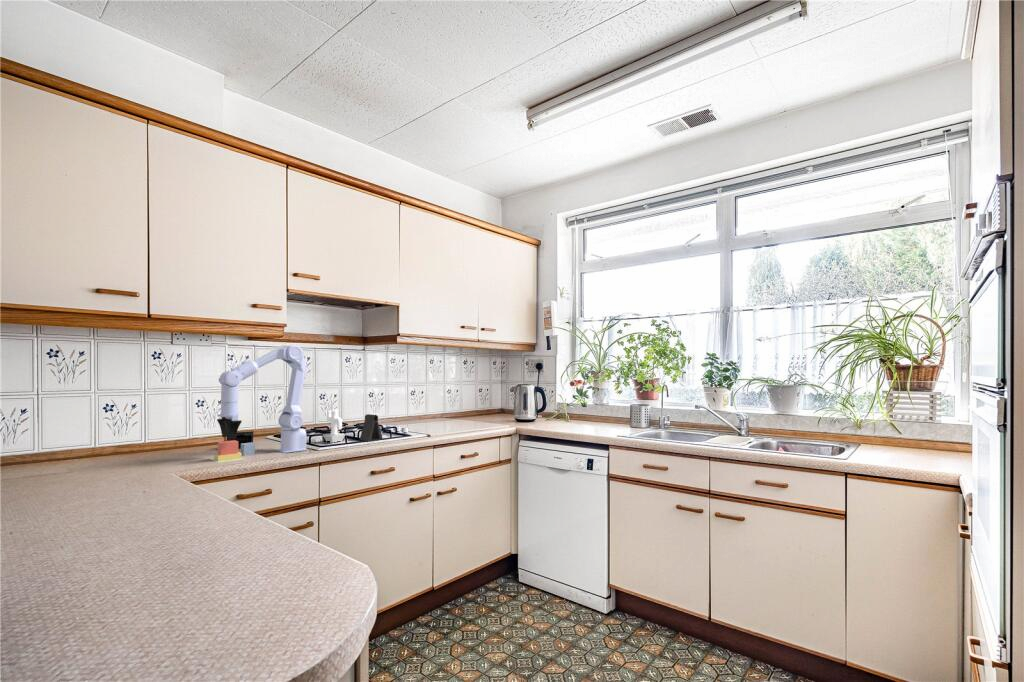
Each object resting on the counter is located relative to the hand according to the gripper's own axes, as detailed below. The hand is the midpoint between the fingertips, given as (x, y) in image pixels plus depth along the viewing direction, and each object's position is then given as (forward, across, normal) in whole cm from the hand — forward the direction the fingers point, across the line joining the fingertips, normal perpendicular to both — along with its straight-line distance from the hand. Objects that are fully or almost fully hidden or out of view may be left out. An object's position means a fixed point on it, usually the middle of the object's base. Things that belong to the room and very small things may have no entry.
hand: (228, 438), depth 193 cm
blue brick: (+8, -5, +8) cm, 13 cm away
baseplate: (+8, 0, 0) cm, 8 cm away
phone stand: (+9, -5, +63) cm, 64 cm away
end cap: (+8, -23, +11) cm, 27 cm away
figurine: (+8, -10, +47) cm, 49 cm away
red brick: (+6, 0, 0) cm, 6 cm away
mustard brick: (+8, 0, 0) cm, 8 cm away
